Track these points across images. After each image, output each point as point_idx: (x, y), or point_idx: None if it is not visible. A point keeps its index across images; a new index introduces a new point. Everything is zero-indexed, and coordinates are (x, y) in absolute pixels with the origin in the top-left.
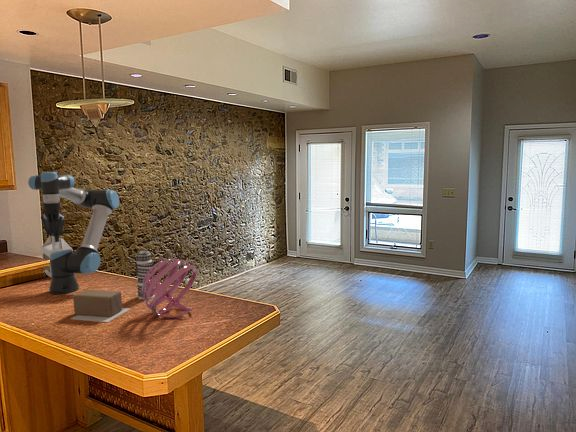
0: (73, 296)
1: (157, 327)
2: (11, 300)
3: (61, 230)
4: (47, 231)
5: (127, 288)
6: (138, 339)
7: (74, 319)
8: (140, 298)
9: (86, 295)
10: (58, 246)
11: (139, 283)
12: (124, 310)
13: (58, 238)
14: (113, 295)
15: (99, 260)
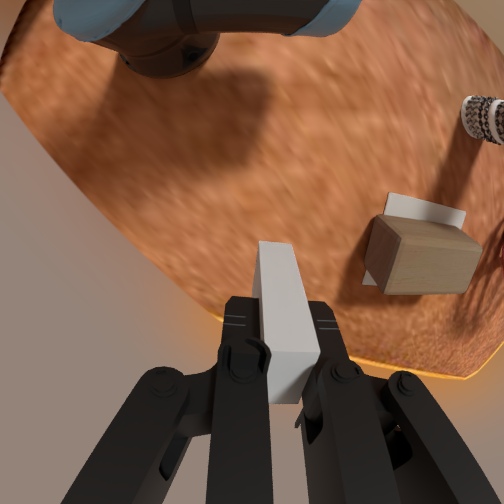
0: (383, 292)
1: (494, 292)
2: (77, 164)
3: (433, 432)
4: (173, 457)
5: (395, 17)
6: (471, 329)
7: (371, 284)
8: (470, 134)
9: (419, 292)
10: (292, 256)
11: (499, 139)
12: (457, 224)
13: (337, 341)
14: (471, 278)
15: None
